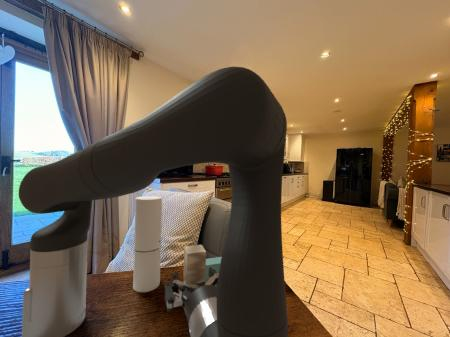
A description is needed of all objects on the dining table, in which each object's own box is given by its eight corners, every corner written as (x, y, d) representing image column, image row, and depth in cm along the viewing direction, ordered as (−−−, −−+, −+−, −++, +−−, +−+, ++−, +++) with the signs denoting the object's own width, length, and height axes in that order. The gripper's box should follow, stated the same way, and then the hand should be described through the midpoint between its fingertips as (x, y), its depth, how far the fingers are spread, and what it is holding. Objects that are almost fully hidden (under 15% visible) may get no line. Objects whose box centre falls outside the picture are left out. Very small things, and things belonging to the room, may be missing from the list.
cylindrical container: (163, 278, 60) (165, 196, 60) (154, 292, 53) (156, 199, 53) (140, 277, 60) (142, 195, 60) (128, 291, 53) (130, 199, 53)
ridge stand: (192, 295, 52) (192, 273, 52) (186, 276, 62) (186, 257, 62) (243, 285, 57) (244, 264, 57) (230, 268, 67) (231, 251, 67)
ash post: (185, 314, 45) (187, 253, 45) (182, 302, 50) (184, 246, 50) (204, 310, 47) (206, 251, 47) (200, 298, 51) (201, 244, 51)
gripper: (248, 291, 36) (220, 254, 52) (168, 307, 32) (163, 262, 47) (247, 331, 36) (219, 283, 52) (167, 354, 32) (163, 293, 47)
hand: (193, 273), depth 49 cm, fingers open, 8 cm apart
